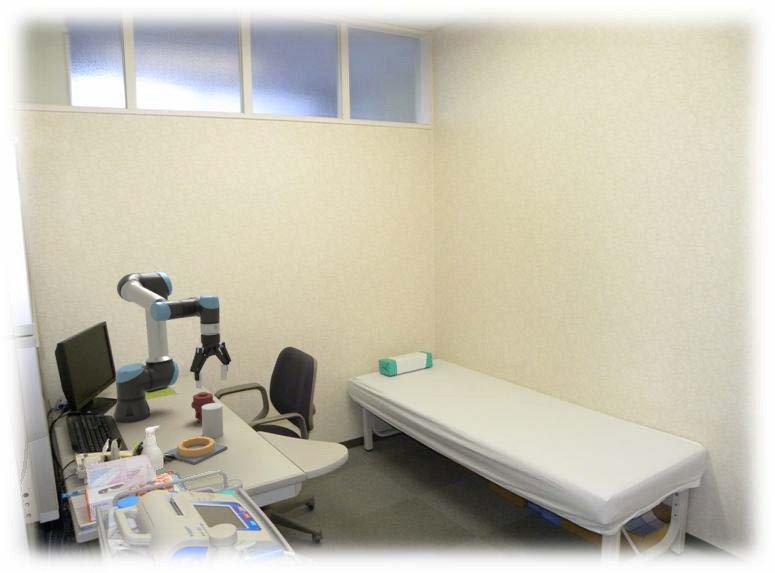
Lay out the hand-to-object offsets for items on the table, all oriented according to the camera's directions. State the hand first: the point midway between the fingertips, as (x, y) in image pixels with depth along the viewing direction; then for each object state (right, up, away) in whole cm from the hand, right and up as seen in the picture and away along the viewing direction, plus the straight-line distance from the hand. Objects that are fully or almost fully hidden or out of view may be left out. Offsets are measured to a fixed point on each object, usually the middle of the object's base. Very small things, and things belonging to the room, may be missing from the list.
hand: (211, 384), depth 224 cm
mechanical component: (-10, -20, +19) cm, 29 cm away
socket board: (-1, -23, -15) cm, 28 cm away
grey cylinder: (0, -22, +2) cm, 22 cm away
